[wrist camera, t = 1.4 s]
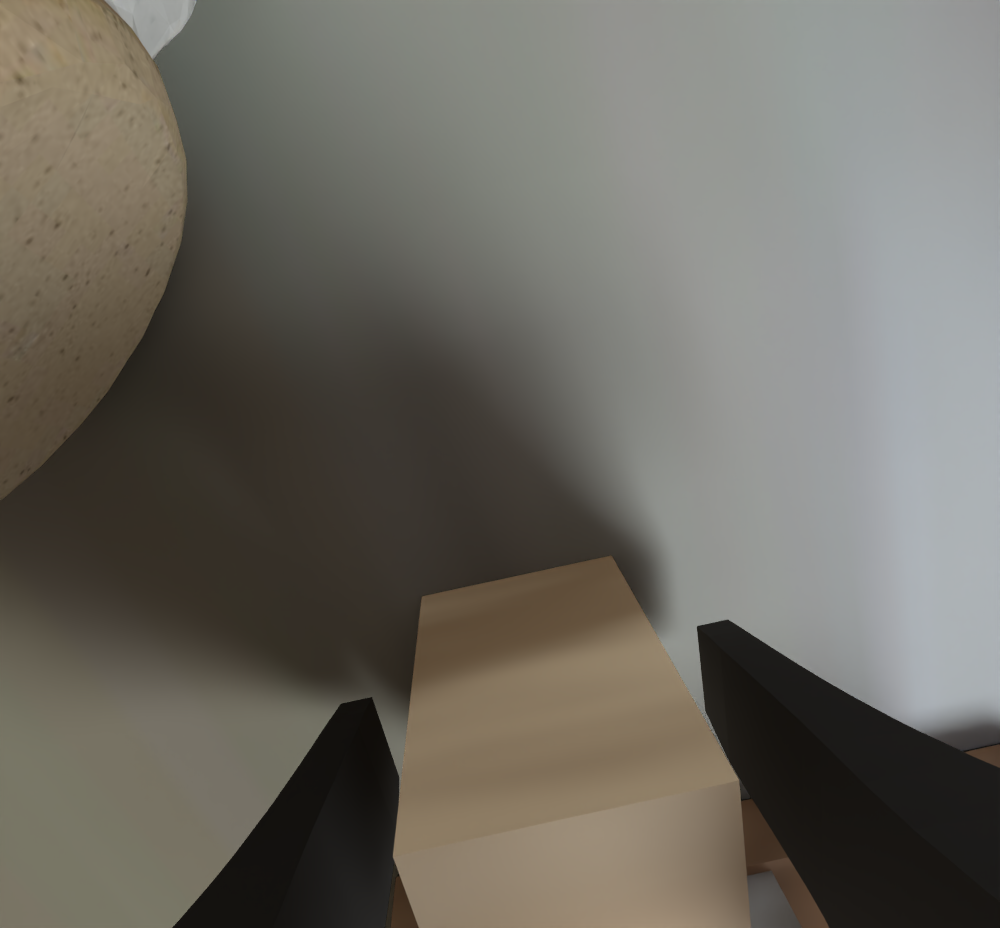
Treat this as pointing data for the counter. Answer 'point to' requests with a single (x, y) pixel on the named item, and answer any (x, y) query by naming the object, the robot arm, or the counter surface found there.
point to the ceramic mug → (80, 208)
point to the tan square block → (561, 766)
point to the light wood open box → (770, 875)
